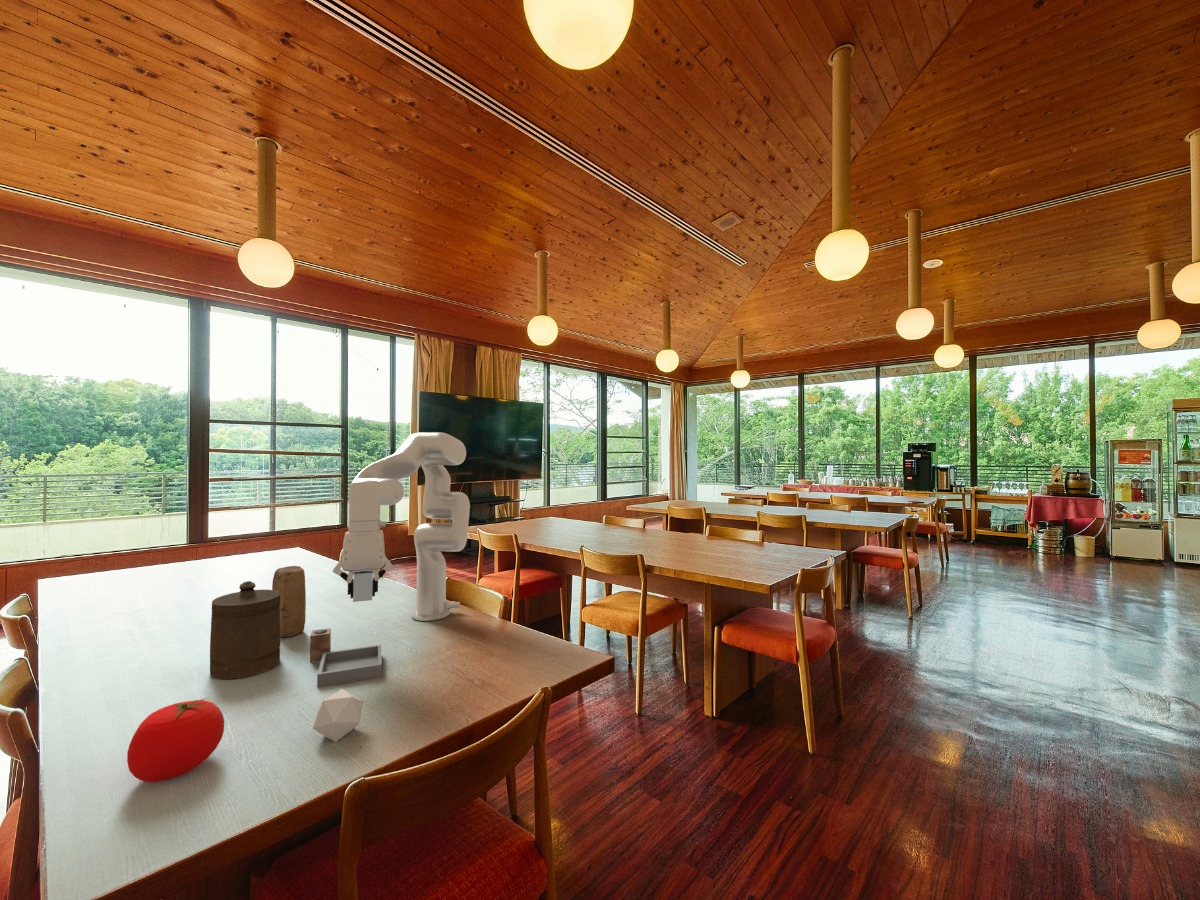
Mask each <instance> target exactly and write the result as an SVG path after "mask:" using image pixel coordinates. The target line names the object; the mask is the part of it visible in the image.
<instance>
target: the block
mask: <svg viewBox="0 0 1200 900" xmlns="http://www.w3.org/2000/svg"><path fill="white" fill-rule="evenodd" d="M305 574H306V573H305V569H304V568H302V567H301V566H299V565H289V566H283V567H279V568H277V569H276V570H275V571H274V574H273V578H272V583H271V584H272V585H271V588H272V589H271V590H276V591H279V592H280V638H288V637H294V636H297V635H300V634H301V633H304V631H305V624H306V620H307V619H306V618H307V617H306V616H307V615H306V613H307V612H306V609H307V608H306V607H307V605H306V604H307V603H306V602H307V601H306V599H307V595H306V594H307V593H306V575H305Z"/></svg>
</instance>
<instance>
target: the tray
mask: <svg viewBox="0 0 1200 900" xmlns="http://www.w3.org/2000/svg"><path fill="white" fill-rule="evenodd" d="M382 663H383V662H382V644H377V645H375V644H374V645H370V646H362V647H356V648H354V647H353V648H346V649H341V650H339V649H338V650H333V651H331V652H325V653H323V655H322V659H321V661H319V667H318V670H317V674H316V675H317V678H316V681H317V682H316V688H320V687H325V686H333V685H339V684H345V683H351V682H357V681H364V680H369V679H375V678H376V679H377V678H381V677H382V674H383V673H382V670H383V669H382Z"/></svg>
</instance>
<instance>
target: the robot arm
mask: <svg viewBox="0 0 1200 900" xmlns="http://www.w3.org/2000/svg"><path fill="white" fill-rule="evenodd" d="M466 457H467V449H466V446H465V445H464V443H463V442H462V441H461V440H460V439H458V438H456V437H455V436H453V435H451V434H449V433H446V432H437V431H435V432H434V431H432V432H431V431H430V432H429V431H428V432H427V431H426V432H425V431H423V432H422V431H421V432H418V431H417V432H415V433H412V434H410V435H409V436H408V437H407V438H406V440H405V441H403V443H402V444H401V445H400V446H399V447H398V449H397V450H395V452H394V453H393V454H391V455H389V456H386V457H384V458H381V459H379V460H377V461H375V462H372V463H371V464H369V465H367V466H366V467H365V468H363V469H361V471H360V472H359V473H358V474H357V475H356V476H355V477H354V478H353V480H352V481H351V482H350V484H349V486H348V488H349V489H348V530H347V531H346V532H345V533H344V537H343V543H342V556H341V559H340V560H339V561H338V563H337V564H336V565H335V566H334V568H333V570H332V573H334V574H336V575H337V576H339V577H340V578H341V579H342V580H344V581H345V582H346V583H347V596H349V595H350V600H351V599H353V583H354V571H364V570H372V571H373V591H372V597H375V596H376V593H379V580H380V579H381V578H382V577H383V576H385V574H386V573H388V572H389V571H390V570H392V569H393V568H394V565H393V564H392V563H391V561H390V560H389V559H388V558H387V556H386V554H385V553H386V552H385V551H386V550H385V536H384V532H383V530H381V528H383V527H384V528H385V527H386V525H387V523H386V521H383V520H381V506H394V505H397V504H398V503H400V502H401V500H402V499H403V498H404V494H405V489H404V488H405V487H404V485H403V483H402V482H401V481H399V480H401V479H405V478H407V477H408V478H409V477H411V476H413V475H414V474H416V473H417V471H418V470H419V468H420V467H421V469H422V471H423V473H424V477H425V478H424V479H425V482H424V490H423V499H422V501H423V502H422V514H423V516H424V517H425V518H427V519H432V520H451V523H448V522H445V523H444V522H425V523H422V524H420V525H417V527H416V528H415V529H414V533H413V541H414V546H415V553H416V609H415V610H413V611H412V612H411V619H412V620H416V621H423V622H424V621H425V622H427V621H428V622H429V621H430V622H431V621H438V620H442V619H444V618H447V617H448V616H450V614H451V609H459V608H460V607H461V603H460V601H455V600H454V601H453V600H452V601H448V600H447V598H446V597H447V594H446V593H447V574H446V573H447V563H446V558H445V557H444V555H443V553H442V552H448V553H449V552H453V553H454V552H461V551H462V550H464V548H465V546H466V544H467V540H468V530H469V522H470V512H471V511H470V509H471V505H470V504H471V503H470V499H469V497H468V495H467V494H465V493H464V492H460V491H451V481H452V480H451V479H452V477H451V476H450V473H449V472H448V470H447V468H446V467H445V466H459V465H461V464H462V463H464V461H465V460H466ZM341 568H342V569H341ZM347 572H348V573H347Z"/></svg>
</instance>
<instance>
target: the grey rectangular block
mask: <svg viewBox="0 0 1200 900" xmlns="http://www.w3.org/2000/svg"><path fill="white" fill-rule="evenodd" d="M373 577H374V575H373V571H372V570H364V571H354V575H353V581H354V583H353V598H352V602H353V603H355V602H366V601H368V602H369V601H373V596H372V591H373Z"/></svg>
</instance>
